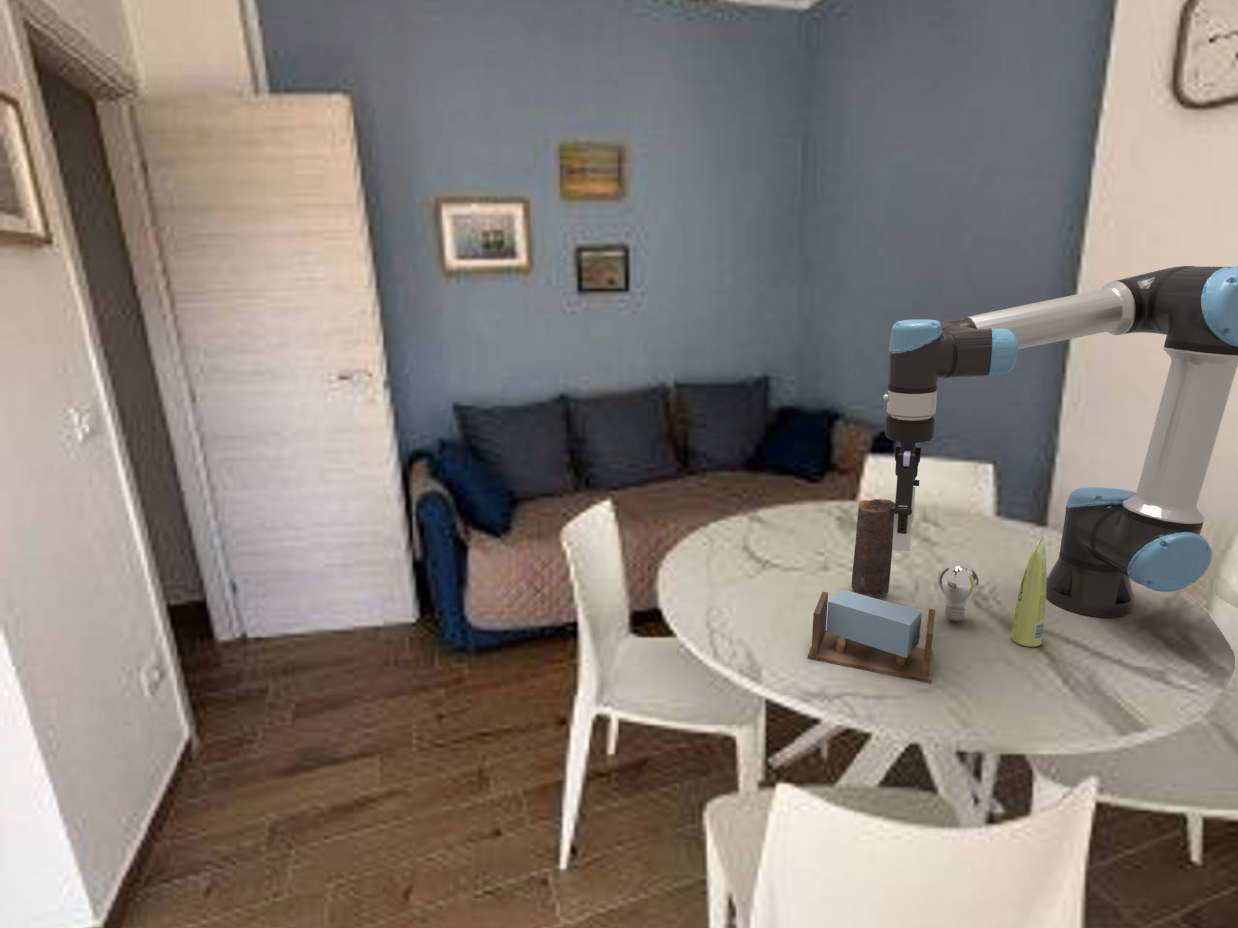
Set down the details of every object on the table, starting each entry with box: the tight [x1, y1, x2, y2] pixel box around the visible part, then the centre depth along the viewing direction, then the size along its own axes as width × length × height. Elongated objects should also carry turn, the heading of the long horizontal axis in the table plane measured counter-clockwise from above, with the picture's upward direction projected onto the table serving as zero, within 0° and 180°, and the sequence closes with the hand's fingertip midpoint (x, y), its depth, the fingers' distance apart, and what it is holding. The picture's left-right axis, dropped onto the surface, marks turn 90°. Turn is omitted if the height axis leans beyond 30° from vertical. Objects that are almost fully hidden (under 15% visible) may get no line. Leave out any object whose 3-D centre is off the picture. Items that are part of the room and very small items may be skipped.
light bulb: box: [937, 560, 980, 623], centre depth 138 cm, size 7×7×12 cm
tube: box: [1010, 533, 1047, 648], centre depth 130 cm, size 6×5×20 cm
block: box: [826, 589, 923, 658], centre depth 126 cm, size 6×14×6 cm, turn 50°
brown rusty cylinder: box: [850, 498, 895, 598], centre depth 149 cm, size 8×7×20 cm
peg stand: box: [807, 591, 936, 684], centre depth 127 cm, size 20×10×9 cm, turn 65°
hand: (903, 535), depth 127 cm, fingers open, 13 cm apart
